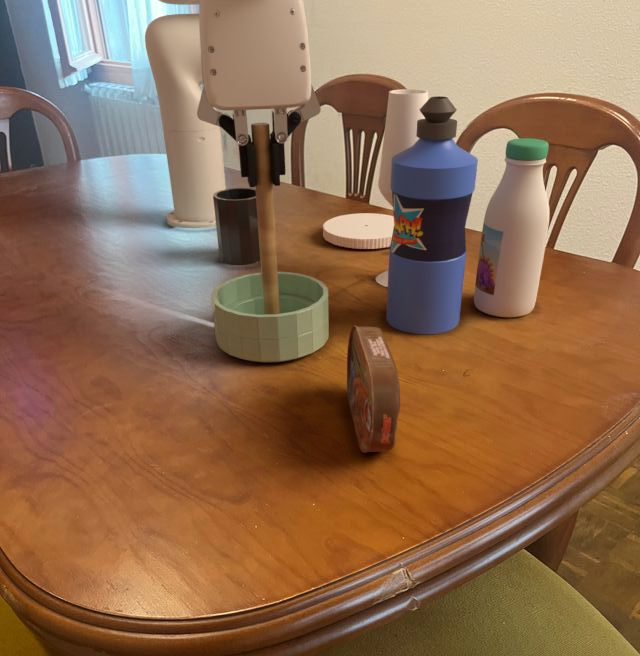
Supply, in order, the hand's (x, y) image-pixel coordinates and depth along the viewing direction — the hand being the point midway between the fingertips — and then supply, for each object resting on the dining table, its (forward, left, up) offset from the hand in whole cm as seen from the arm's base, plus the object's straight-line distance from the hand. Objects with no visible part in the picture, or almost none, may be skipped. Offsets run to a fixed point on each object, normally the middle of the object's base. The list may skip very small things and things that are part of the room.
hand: (263, 182), depth 68 cm
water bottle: (-15, +12, -18) cm, 27 cm away
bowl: (0, 0, -18) cm, 18 cm away
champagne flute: (-25, +3, -18) cm, 31 cm away
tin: (+9, +19, -18) cm, 28 cm away
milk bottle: (-24, +19, -18) cm, 36 cm away
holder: (-19, -21, -18) cm, 34 cm away
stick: (0, 0, -14) cm, 14 cm away
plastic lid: (-37, -10, -18) cm, 43 cm away
